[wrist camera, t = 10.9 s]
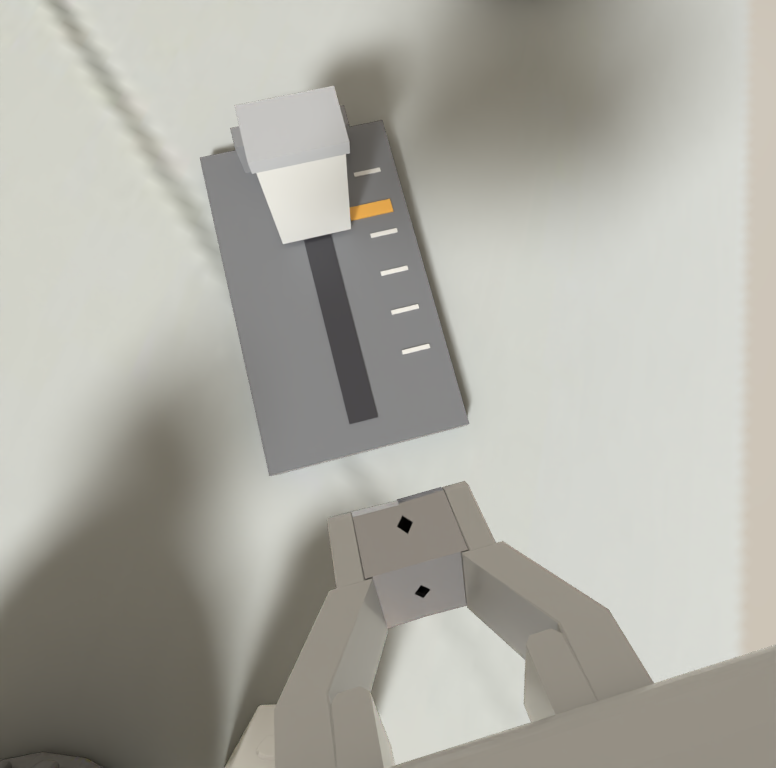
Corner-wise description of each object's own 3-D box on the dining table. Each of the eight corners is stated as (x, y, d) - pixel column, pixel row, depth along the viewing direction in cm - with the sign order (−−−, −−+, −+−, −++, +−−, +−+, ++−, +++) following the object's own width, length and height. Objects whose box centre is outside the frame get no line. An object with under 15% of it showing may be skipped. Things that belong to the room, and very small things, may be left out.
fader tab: (354, 230, 36) (349, 141, 26) (281, 247, 36) (247, 162, 26) (343, 188, 37) (334, 85, 27) (270, 204, 36) (234, 105, 26)
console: (464, 425, 36) (478, 419, 31) (273, 475, 35) (259, 476, 30) (381, 133, 40) (383, 90, 35) (206, 170, 38) (185, 130, 34)
